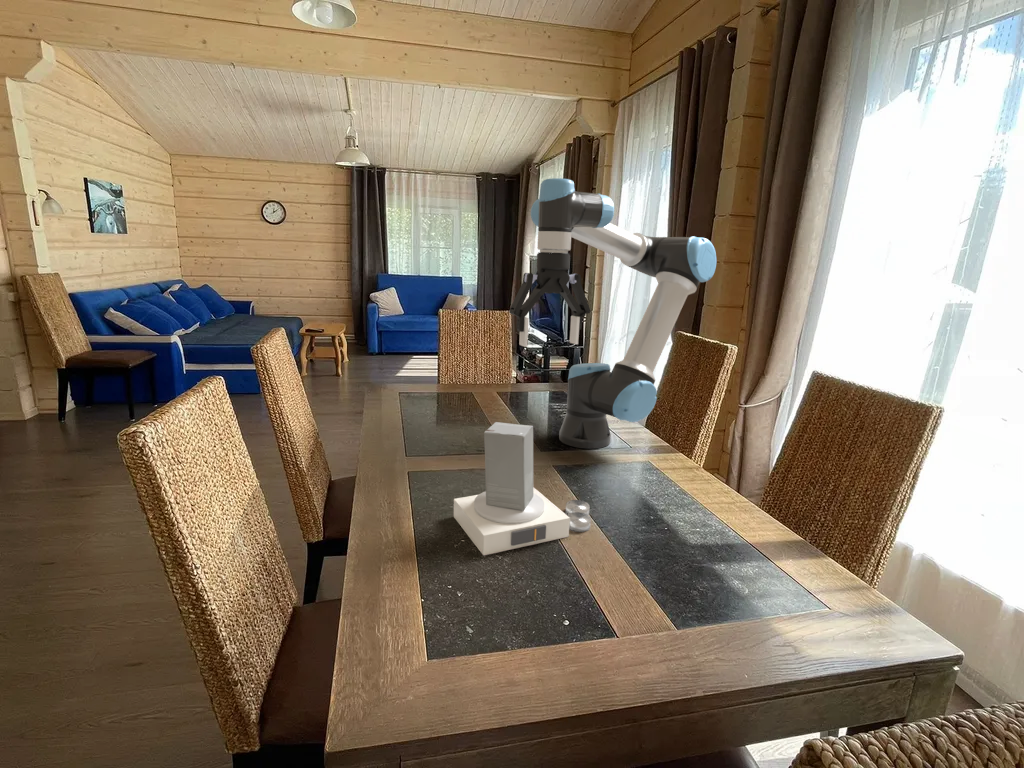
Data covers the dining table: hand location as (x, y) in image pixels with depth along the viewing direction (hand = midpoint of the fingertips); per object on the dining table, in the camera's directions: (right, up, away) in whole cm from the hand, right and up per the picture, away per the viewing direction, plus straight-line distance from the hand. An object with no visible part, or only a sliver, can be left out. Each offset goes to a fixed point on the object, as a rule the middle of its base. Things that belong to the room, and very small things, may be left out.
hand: (549, 344), depth 128 cm
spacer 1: (+5, -37, -12) cm, 39 cm away
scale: (-9, -38, -19) cm, 43 cm away
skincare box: (-9, -33, -19) cm, 40 cm away
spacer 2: (+5, -38, -18) cm, 42 cm away
